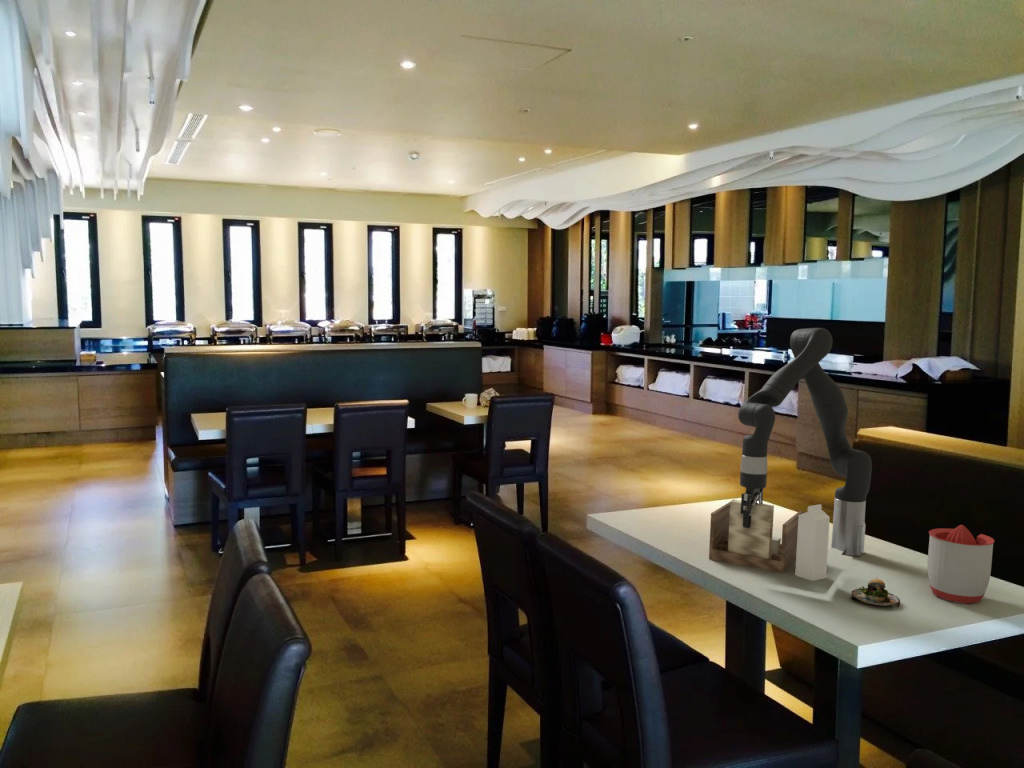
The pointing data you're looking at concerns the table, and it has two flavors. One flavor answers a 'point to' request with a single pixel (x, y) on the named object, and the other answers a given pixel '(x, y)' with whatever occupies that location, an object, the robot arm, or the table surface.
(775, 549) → the offcut
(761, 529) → the beige patterned book
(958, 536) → the citrus juicer
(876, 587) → the burger
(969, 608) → the table surface
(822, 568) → the milk
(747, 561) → the rack
